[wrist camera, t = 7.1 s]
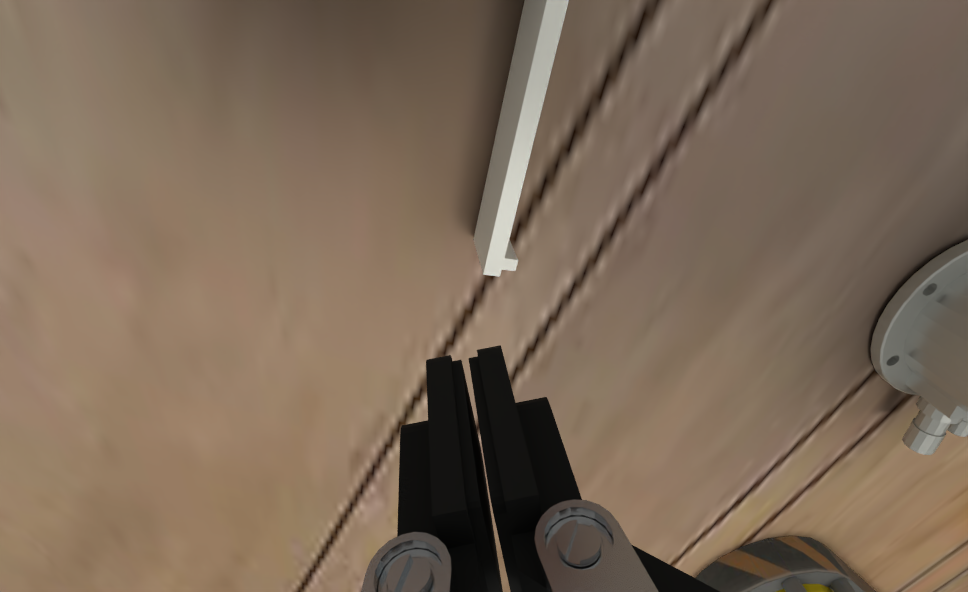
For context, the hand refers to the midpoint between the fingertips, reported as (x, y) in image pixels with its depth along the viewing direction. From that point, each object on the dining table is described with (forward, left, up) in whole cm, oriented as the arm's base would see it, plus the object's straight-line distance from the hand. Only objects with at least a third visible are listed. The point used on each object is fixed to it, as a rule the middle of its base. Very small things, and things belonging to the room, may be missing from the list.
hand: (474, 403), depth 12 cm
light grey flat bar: (+3, -4, -16) cm, 17 cm away
